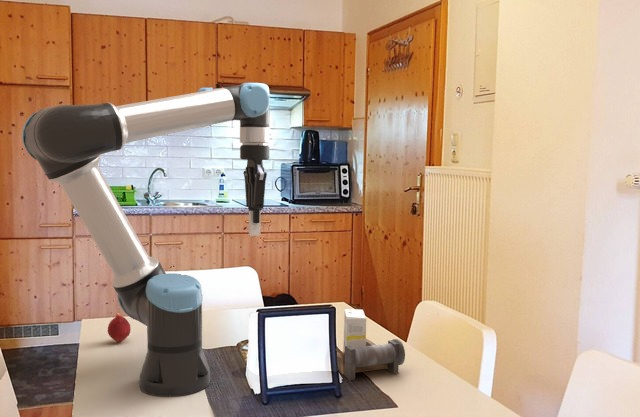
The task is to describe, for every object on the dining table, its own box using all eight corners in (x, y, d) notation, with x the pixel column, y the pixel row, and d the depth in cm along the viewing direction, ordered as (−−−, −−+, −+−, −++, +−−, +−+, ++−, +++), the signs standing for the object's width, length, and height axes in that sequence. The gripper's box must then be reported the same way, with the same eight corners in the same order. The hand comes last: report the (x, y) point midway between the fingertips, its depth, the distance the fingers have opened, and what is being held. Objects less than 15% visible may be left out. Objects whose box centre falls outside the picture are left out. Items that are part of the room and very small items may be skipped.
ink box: (366, 365, 147) (367, 317, 146) (345, 365, 146) (346, 317, 145) (362, 354, 155) (363, 308, 154) (343, 354, 155) (343, 308, 154)
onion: (134, 339, 165) (133, 310, 164) (125, 346, 159) (124, 316, 159) (113, 338, 166) (113, 310, 165) (104, 345, 160) (103, 315, 159)
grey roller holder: (353, 382, 135) (353, 349, 135) (314, 352, 156) (315, 323, 155) (404, 374, 140) (405, 343, 140) (361, 346, 161) (361, 318, 161)
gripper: (276, 144, 152) (276, 237, 154) (261, 145, 164) (261, 231, 166) (247, 143, 149) (247, 239, 151) (234, 144, 161) (234, 232, 163)
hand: (254, 235), depth 159 cm, fingers closed
